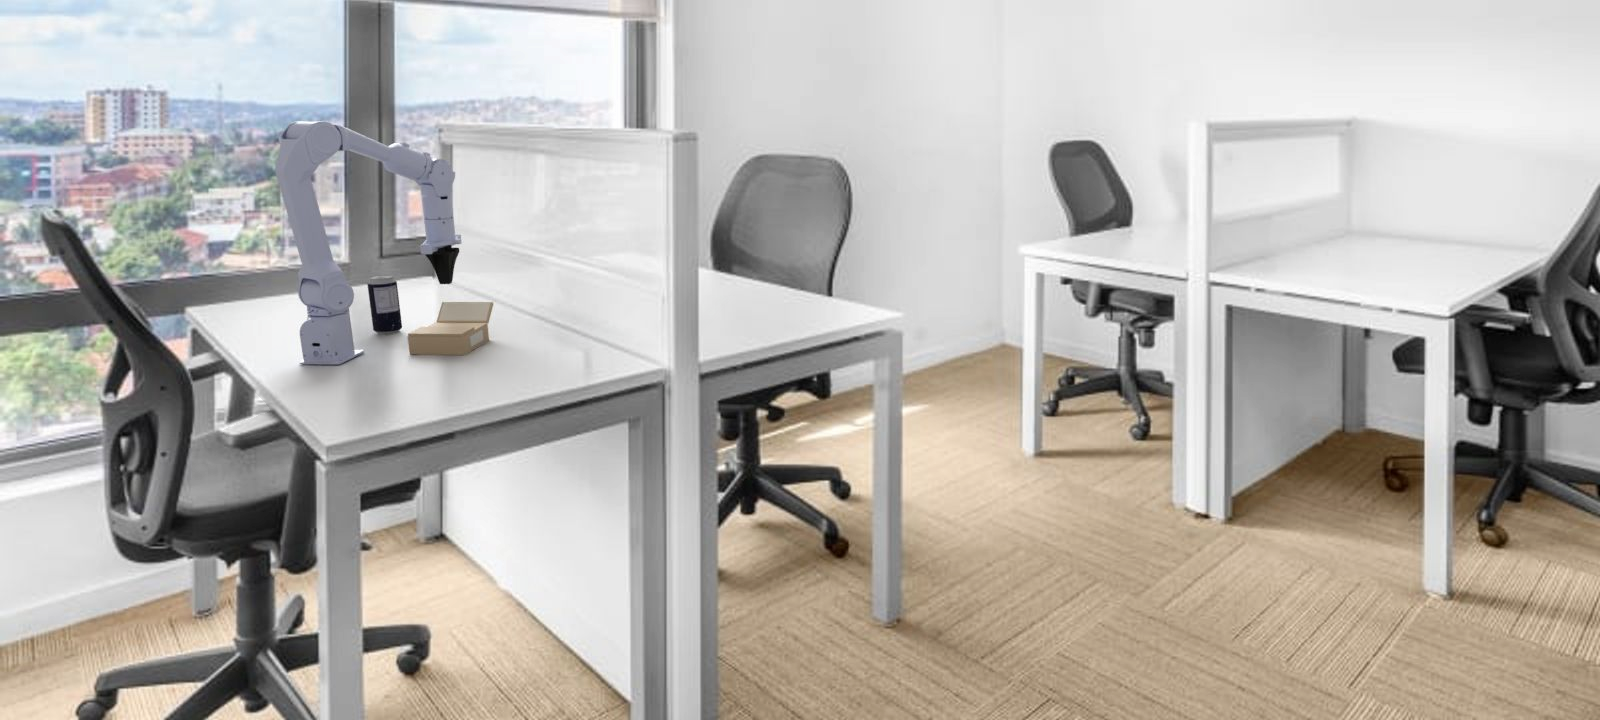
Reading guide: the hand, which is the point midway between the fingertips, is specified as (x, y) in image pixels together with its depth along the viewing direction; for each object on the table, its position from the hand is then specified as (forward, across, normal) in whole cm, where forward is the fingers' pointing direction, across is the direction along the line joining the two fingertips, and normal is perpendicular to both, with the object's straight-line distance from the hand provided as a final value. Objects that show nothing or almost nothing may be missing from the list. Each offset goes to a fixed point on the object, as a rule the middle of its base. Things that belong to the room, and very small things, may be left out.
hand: (445, 283), depth 210 cm
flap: (+5, -4, -5) cm, 9 cm away
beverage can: (+11, -1, +14) cm, 17 cm away
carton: (+10, -12, -6) cm, 17 cm away
